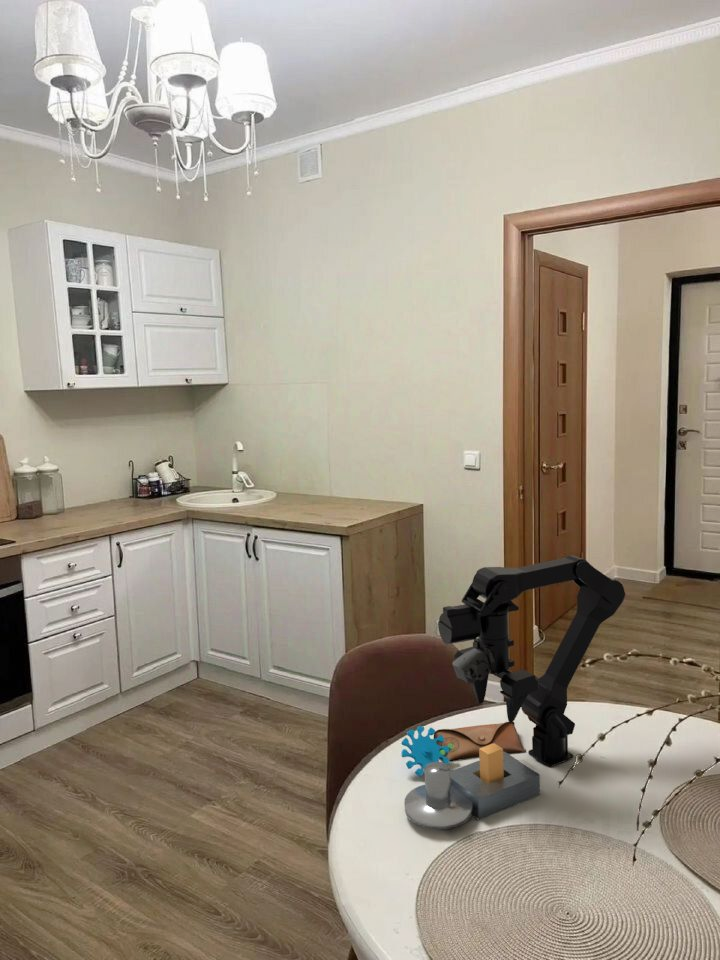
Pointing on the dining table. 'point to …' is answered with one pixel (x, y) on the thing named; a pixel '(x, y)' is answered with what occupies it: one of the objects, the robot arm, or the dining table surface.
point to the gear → (425, 749)
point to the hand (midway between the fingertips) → (495, 712)
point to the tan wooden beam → (491, 763)
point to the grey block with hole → (468, 793)
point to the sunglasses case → (479, 739)
